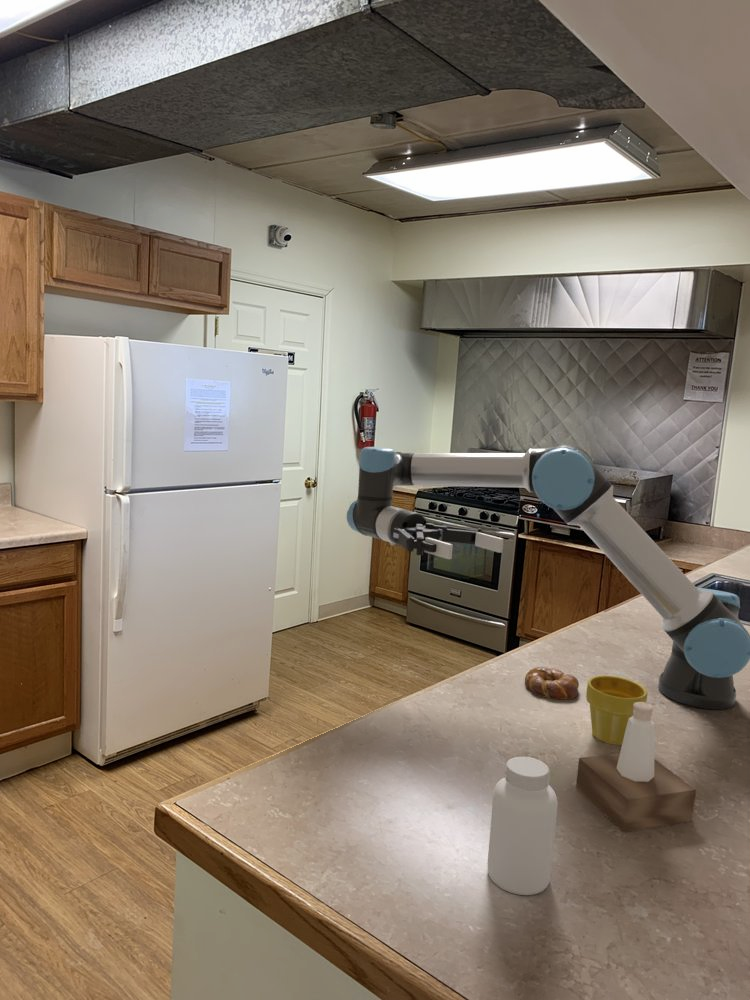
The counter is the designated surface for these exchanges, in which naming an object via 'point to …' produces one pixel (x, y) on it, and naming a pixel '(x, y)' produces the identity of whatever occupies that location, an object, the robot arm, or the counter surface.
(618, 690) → the plant pot
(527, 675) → the braided bread ring
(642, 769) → the pepper shaker
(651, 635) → the counter surface
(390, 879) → the counter surface
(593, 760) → the walnut base
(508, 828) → the pill bottle
